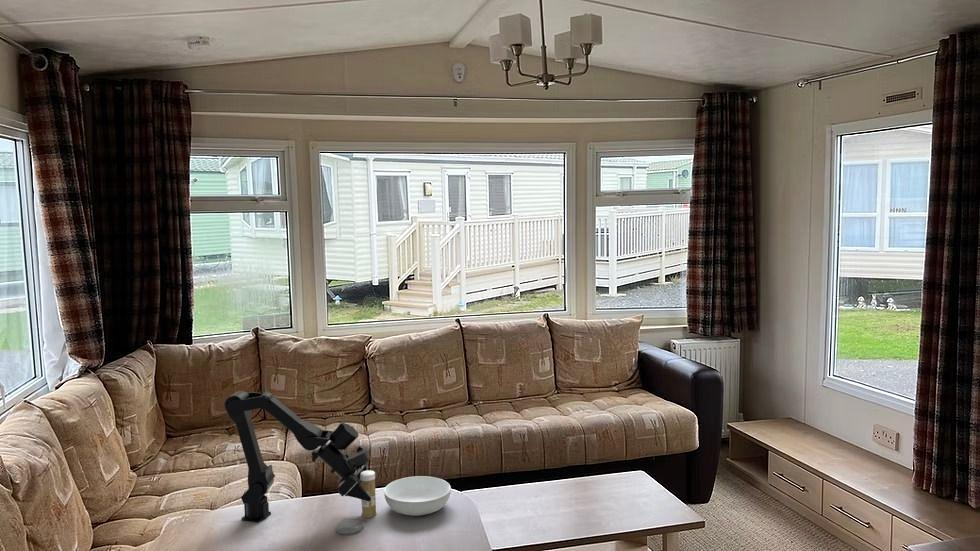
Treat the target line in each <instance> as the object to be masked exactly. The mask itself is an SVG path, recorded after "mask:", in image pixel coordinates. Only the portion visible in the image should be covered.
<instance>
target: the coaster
mask: <svg viewBox="0 0 980 551" xmlns="http://www.w3.org/2000/svg"><path fill="white" fill-rule="evenodd" d="M364 527H365V526H364V522H363V521H361V520H357V519H348V520H344V521H341V522H339V523H337V524H336V526H335V531H336V533H337V534H338V535H343V536H350V535H355V534H356V535H357V534H358V533H360V532H362V531H364V530H363V529H364Z"/></svg>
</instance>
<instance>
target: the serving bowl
mask: <svg viewBox="0 0 980 551" xmlns="http://www.w3.org/2000/svg"><path fill="white" fill-rule="evenodd" d="M451 491H452V487H451V485H450V483H449V482H447V481H446V480H444V479H442V478H439V477H434V476H429V475H428V476H426V475H424V476H423V475H416V476H408V477H403V478H399V479H395V480H393V481H391V482H390V483H388V484H387V485H386V486H385V488H384V489H383V494H384V499H385V501H386V504H387V505H388V507H389V508H390V509H392V510H393V511H394V512H396V513H399V514H402V515H406V516H424V515H429V514H432V513H434V512H437V511H439V510H441V509H442V508H443V507H445V505H446V504H447V503H448V501H449V499H450V496H451Z"/></svg>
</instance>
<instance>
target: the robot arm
mask: <svg viewBox="0 0 980 551" xmlns="http://www.w3.org/2000/svg"><path fill="white" fill-rule="evenodd" d="M224 409H225V411H226V414H227V415H228V418H229V419H230V420H231V421H232V422H233V423H234V425H235V426H236V431H237V434H238V437H239V440H240V444H241V448H242V451H243V454H244V458H245V461H246V464H247V467H248V471H247V487H248V488H247V490H246V491H245V492H244V493H243V494H242V496H240V498H241V500H242V503H243V506H244V508H243V509H244V516H242V517H241V519H240V520H241V521H249V522H256V523H260V522H261V521H262V520H265V519H266V518H267V517H269V516H270V515H271V514H272V511H270V507H269V506H270V505H269V501H268V496H267V495H265V494H267V493H268V491H269V490H270V488H272V486H273V485H274V483H275V477H276V474H275V473H274V472H273V471H274V470H273V466H272V464H269V465H267V464H266V462H264V459H263V456H262V453H261V449H260V445H259V441H258V439H257V435H256V432H255V428H254V425H253V421H252V411H254V410H259V409H263V410H265V412H267V413H268V414H270V415H271V417H273V418H275V420H277V421H278V423H280V424H282V426H284V427H285V428H286V429H288V430H289V431H290V432H291V433H292V434H293V436H294V437H295V439H296V441H297V442H298V443H299V445H300V446H301V447H302V448H303V449H304V450H306V451H309V452H310V451H312V452H311V461H312V462H315V461H316V460H317V459H318V458H319V459H320V461H321V462H323V463H324V464H325V465H326V466H327V467H328V468H330V470H329V471H330V473H331V474H334V473H335V474H336V475H337V476H338V477H339V478H340V479H339V481H340V482H341V483H339V486H338V487H337V493H338V494H339V495H340V496H341V497H350V498H355V499H359V500H361V499H362V500H365V501H370V500H371V497H370V496H369V495H368V494H367V492H366V491H365V490H364V489H363V488H362V486H361V480H360V473H361V472H363V471H368V465H369V464H368V462H369V461H370V458H371V455H370V453H369V451H370V450H369V449H368V448H367V447H365V446H364V445H362V444H361V445H358V446H357V448H356V452H354V453H353V454H349V453H347V452H345V454H344V452H343V450H345V451H346V450H347V449H348V448H349V447H350V446H351V444H353V442H355V441H356V440H357V438H359V433H358V431H357V429H356V428H354V426H351V425H350V424H347V423H346V422H344V421H341V422H340V423H339V424H338V426H337V427H336V428H335V429H334V430H325V429H322V428H321V427H319V426H317V425H316V424H313V423H311V422H307V421H306V420H303V419H302V418H301V417H299V416H298V415H297V414H296V413H294V411H292V410H290V408H288V407H287V406H286V405H285V404H283V403H282V402H281V401H280V400H278V398H276V397H275V396H274V395H273V393H271V392H255V391H254V392H253V391H252V392H246V391H243V390H237V391H235V392H234V393H233V394H231V395H230V396H229V397H228V398H226V400H225V402H224ZM376 488H377V485H376V484H375V489H376Z"/></svg>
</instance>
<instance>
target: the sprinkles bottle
mask: <svg viewBox="0 0 980 551" xmlns="http://www.w3.org/2000/svg"><path fill="white" fill-rule="evenodd" d="M360 480H361V483H360V484H361V486H362V488H363V489H364V490H365V491H366V492H367V494H368V495H369V496H370V497H371V500H370V501H365V500H362V499H360V501H361V510H362V511H361V516H362V517H364V518H372V517H375V516H376V515H377V498H376V488H375V485H376V482H375V480H376V472H375V471H374V470H369V469H367V471H363V472H361V473H360Z"/></svg>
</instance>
